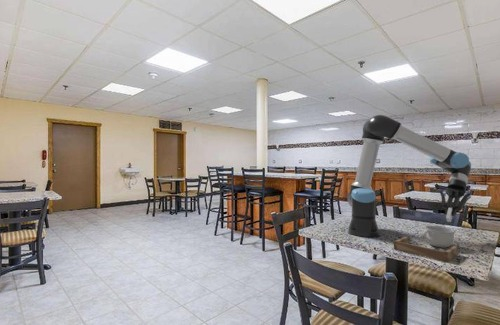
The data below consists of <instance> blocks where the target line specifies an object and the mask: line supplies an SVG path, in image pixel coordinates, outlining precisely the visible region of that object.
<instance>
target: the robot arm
mask: <svg viewBox="0 0 500 325" xmlns="http://www.w3.org/2000/svg"><path fill="white" fill-rule="evenodd" d="M385 138H386V139H389V140H390V141H391V140H395V141H397V142H399V143H401V144H403V145H405V146H407V147H410V148H412V149H414V150H416V151H418V152H420V153H421V154H424V155H426V156H428V157H429V162H430V163H432V164H433V165H435V166H437V167H439V168H441V169H443V170H445V171H446V172H448V173H450V177H449V180H448V184H447V188H446V189H445V190H444V191H441V190H440V191H439V194H440V196H441V205H442V208H443V210H445V212H444V213H445V220H446V222H448V223H451V222H452V219H453V217H455V216H456V213H457V211H460V212H461V211H462V209H463V208H464V206H465V205H466V203H467V202H468V200H470V198H472V196H471V193H469V192H466V190H467V185H468V182H469V176H470V174H471V170H472V163H471V161H470V158H469V156H468V154H466V153H464V152H457V151H455V150H453V149H451V148H449V147H446V146H444V145H442V144H440V143H438V142H436V141H434V140H432V139H430V138H428V137H426V136H424V135H422V134H419V133H417V132H415V131H413V130H411V129H409V128H407V127H405V126H403V125H402V123H401V122H399V121H397V120H395V119H393V118H392V117H389V116H387V115H384V114H376V115H373V116H372V117H371V118H370V119H368V120H366V121H365V123H364V124H363V127H362V135H361V140H362V142H363V144H362V148H361V153H360V158H359V163H358V166H357V167H358V168H357V170H356V175H355V180H354V182H353V183H351V184H350V188H349V192H347V196H346V198H347V203H348V204H349V206H350V207H351V220H350V222H349V225H348V233H349V234H350V235H352V236H356V237H357V236H358V237H361V238H363V237H365V238H374V237H379V236H380V229H379V225H378V224H377V220H376V199H377V197H376V192H375V190H373V188H372V187H371V185H372V179H373V175H374V172H375V166H376V163H377V162H376V161H377V158H378V153H379V150H380V146H381V145H382V144H383V143H384V141H385ZM446 195H447V196H448V198H447V202H446ZM460 199H461V200H460ZM452 203H453V204H452Z"/></svg>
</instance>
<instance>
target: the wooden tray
mask: <svg viewBox="0 0 500 325" xmlns="http://www.w3.org/2000/svg"><path fill="white" fill-rule="evenodd" d="M394 249H395V251H398V250H400V251H399V252H402V251H403V253H408V254H411V255H415V254H416V256H419V255H421V256H420V257H423V256H426V257H425V258H427V257H429V258H428V259H431V258H433V260H435V259H436V260H437V261H439V260H441V261H440V262H444V263H449V262H450V261H452V260H453V259H454V258H456V257H457V256H459V246H457V245H452V246H450V248H448V249H447V250H446V251H445V250H444V251H443V250H440V249H439V250H438V249H435V248H434V249H433V248H430V247H425V246H421V245H415V244H412V243H410V236H403V237H400V238H399V239H396V240H394V241H393V250H394Z"/></svg>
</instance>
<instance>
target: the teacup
mask: <svg viewBox="0 0 500 325" xmlns="http://www.w3.org/2000/svg"><path fill="white" fill-rule="evenodd" d="M424 227H425V229H424V230H423V232H422V237H423V239H425V240H426V242H428V244H429V245H430V246H432V247H436V248H441V249H446V248H448V247H452V246H453V244H454V236H455V231H454V230H453V229H451V228H448V227H444V226H439V225H426V226H424Z"/></svg>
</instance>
